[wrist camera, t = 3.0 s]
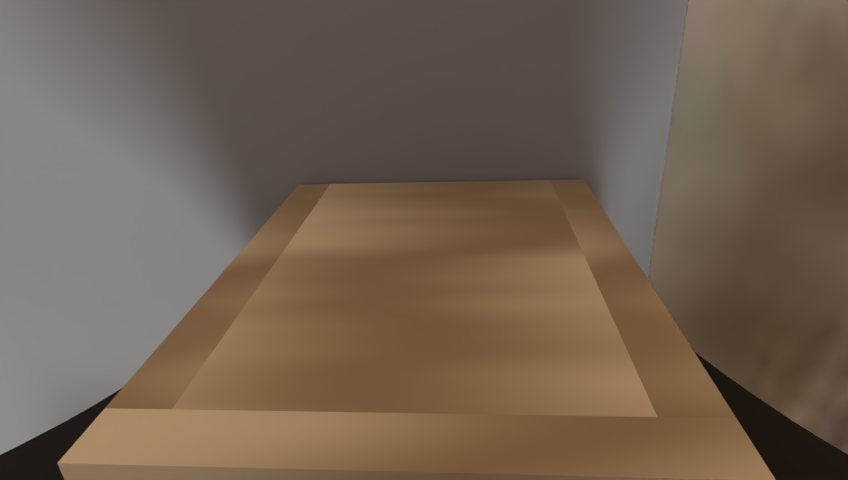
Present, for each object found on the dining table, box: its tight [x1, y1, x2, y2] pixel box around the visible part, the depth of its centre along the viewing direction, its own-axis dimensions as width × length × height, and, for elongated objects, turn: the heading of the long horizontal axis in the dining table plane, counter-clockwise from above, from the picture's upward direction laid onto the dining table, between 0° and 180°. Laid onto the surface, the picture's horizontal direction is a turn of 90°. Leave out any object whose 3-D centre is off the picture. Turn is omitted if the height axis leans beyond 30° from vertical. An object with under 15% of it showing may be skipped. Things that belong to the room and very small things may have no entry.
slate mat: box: [0, 0, 689, 455], centre depth 13 cm, size 18×21×1 cm
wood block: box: [57, 179, 776, 480], centre depth 8 cm, size 5×5×7 cm
